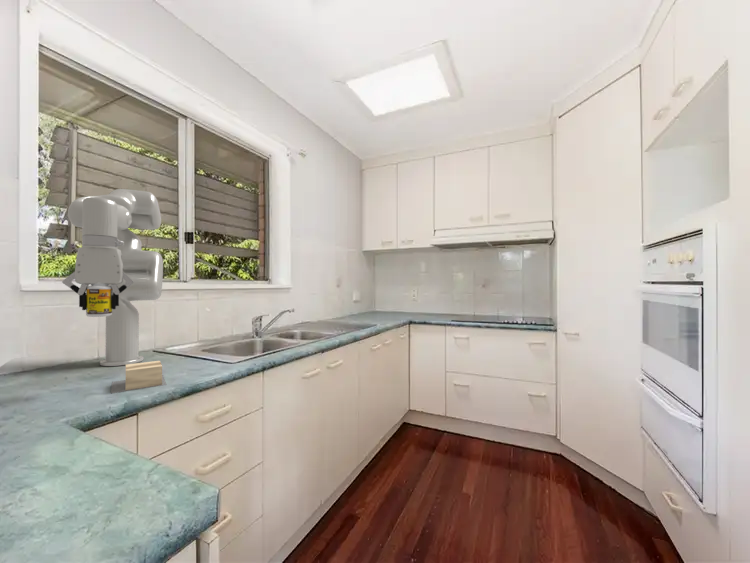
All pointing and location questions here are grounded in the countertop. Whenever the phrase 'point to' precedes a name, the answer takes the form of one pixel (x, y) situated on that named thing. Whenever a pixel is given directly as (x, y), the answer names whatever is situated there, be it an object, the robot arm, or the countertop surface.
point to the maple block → (143, 374)
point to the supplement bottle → (99, 300)
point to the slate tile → (121, 387)
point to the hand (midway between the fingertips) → (99, 308)
